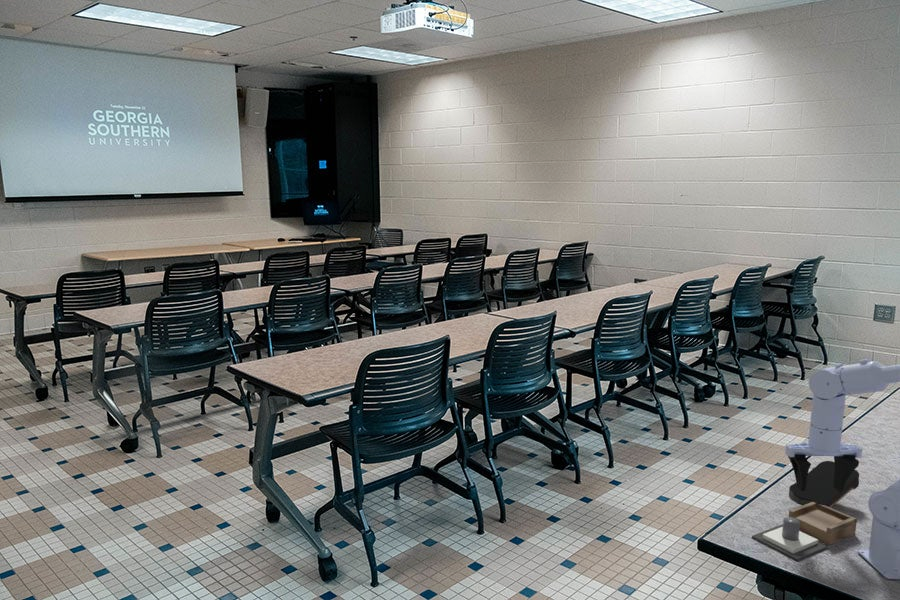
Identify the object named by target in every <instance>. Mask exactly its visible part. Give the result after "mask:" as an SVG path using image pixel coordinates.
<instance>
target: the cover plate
mask: <svg viewBox="0 0 900 600" xmlns="http://www.w3.org/2000/svg"><path fill="white" fill-rule="evenodd" d="M782 524H783V527H780V528H778V529H775V530H773V531H770V532H767V533H765V534H763V537H762V538H764V539H766V540H768V541H770V542H771V543H773V544H775V545H777V546H779V547H781V548H783V549H785V550H787V551H789V552H791V553H793V554H794V553H796V552H798V551H801V550H803V549H806V548H808V547H810V546H813V545H815V544H818V541H819V540H818V539H815V538H813V537H811V536H809V535H807V534H805V533H803V532H801V531H799V530H800V521H799V520H797V519H795V518H792V517H789V516H787V517H783V520H782Z"/></svg>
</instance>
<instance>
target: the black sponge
mask: <svg viewBox="0 0 900 600" xmlns="http://www.w3.org/2000/svg"><path fill="white" fill-rule="evenodd" d="M834 473H835V463H834V461H832V460H823V461H821V462H819V463H818V464H817V465H816V466H815V467H813V468H812V469H811V470H809V471H808V475H807V482H806V489H805V491H801V490H799V489H798V488H797V484H796V482H795V483H793V484H791V485H790V486H789V490H788V496H789V497H788V498H789V499H790V500H791V501H792V502H794V503H795V504H797V505H799V506H803V505H805V504H808V503H811V502H815V503H817V504H822V505H825V506H828V507H830V508H833V506H835V505H836V504H838V502H839V501H841V500H842V499H843V498H844V497H845V496H846V495H847V494H849V493H850V492H851V491H853V490H856V489H857V488H858V487H859V485H860V473H859V471H858V470H857V469H855V470H854V471H853V472H852V473H851V475H850V476H849V478H848V480H847V482H846V484H845V486H844V488H843V491H842V492H840V491H838V490H837V489H835V488H834Z"/></svg>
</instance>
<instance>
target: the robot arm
mask: <svg viewBox="0 0 900 600" xmlns="http://www.w3.org/2000/svg"><path fill="white" fill-rule="evenodd" d="M858 362H859V363H854V364H853V363H852V364H847V365H845V364H843V363H839V364H835V365H834V366H831V367H826V368H821V369H819V370H817V371H815V372H813V373H811V374H810V376H809V379H808V387H809V390H810V392H811V393H812V401H811V409H810V410H811V413H810V420H809V421H810V422H809V433H808V440H807V441H806V442H800V443H799V442H798V443H793V444H792V443H791V444H785V454H786V456H787V457H788V459H789V461H790V464H791V466H792V470H793V473H794V476H795V483H796V484H797V488H798V489H799V490H801V491H805V489H806V482H807V475H808V473H809V472H810V468H811V466H812V463H811V462H810V461H809V460H808V457H833V460H834V461H833V462H834V463H835V473H834V488H835V489H837V490H838V491H840V492H842V491H843V488H844V486H845V484H846V482H847V480H848V478H849V476H850V475H851V473H852V472H853V471H854V470H857V468H858V467H859V464H860V460H858V458H859V459H861V458H862V456H863V455H862V454H863V448H862V447H860V446H858V444H845V443H844V444H843V443H842V435H843V424H844V423H843V422H844V415H845V406H846V405H845V404H846V398H847V397H846V396H852V395H853V396H854V395H860V394H869V393H877V392H883V391H885V390H886V389H887V388H888V386H889V385H890V384H895V383H900V364H893V365H888V366H887V365H884V364H882V363H881V362H879V361H878V360H877V361H876V360H873V361H872V360H871V359H870V358H865V359H860V360H858ZM867 503H868V509H869V511H870V513H871V515H872V520H871V521H872V522H871V527H870V528H871V529H870V530H871V531H870V536H869V537H870V538H869V546H868V549H858V550H857V553H858V554H859V555H860V556H861V557H862V558H864V560H866V561H867V563H869V564H871V566H872V567H874V568H875V570H877V571H878V572H879V573H880V574H881V575H882V576H883V577H884V578H885V579H887V580H900V477H899V478H897V480H895V481H893V482H892V483H891V484H890V485H889V486H887V487H885V488H883V489H880V490H877V491H875V492H873V493H872V494H871V495H870V496H869V498H868V502H867Z"/></svg>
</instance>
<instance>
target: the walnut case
mask: <svg viewBox="0 0 900 600" xmlns="http://www.w3.org/2000/svg"><path fill="white" fill-rule="evenodd" d="M788 517H792V518H795V519H797V520H799V521H800V530H799V531H801V532H803V533H805V534H807V535H809V536H811V537H813V538H815V539H818V541H820V542H822V543H824V544H826V545H828V546H831V545H833V544H836V543H837V542H840V541H842V540H843V541H844V540H845V539H847V538H850V537H852V536H855V535H856V529H857V522H858V518H857V517H855V516H851V515H849V514H846V513H845V512H842V511H839V510H837V509H834V508H833V507H831V508H830V507H828V506H825V505H822V504H817V503H815V502H811V503H808V504H805V505H803V506H802V505H799V506H797V507H795V508H792V509H789V510H788Z"/></svg>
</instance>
